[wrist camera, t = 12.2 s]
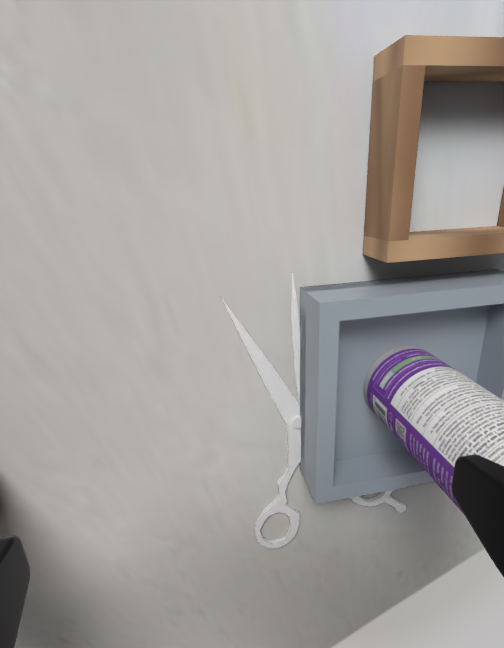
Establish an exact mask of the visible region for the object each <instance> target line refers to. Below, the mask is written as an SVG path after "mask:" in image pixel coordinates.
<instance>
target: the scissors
mask: <svg viewBox="0 0 504 648" xmlns="http://www.w3.org/2000/svg"><path fill="white" fill-rule="evenodd" d="M220 297H221V296H220ZM221 299H222V298H221ZM222 301H223V303H224V305H225V307H226V309H227V311H228V313H229V315H230V317H231V319H232V321H233V323H234V325H235V327H236V329H237V331H238V332H239V334H240V336H241V338H242V340H243V342H244V344H245V346H246V348H247V350H248V352H249V354H250V356H251V358H252V360H253V362H254V364H255V366H256V368H257V370H258V372H259V374H260V376H261V378H262V380H263V382H264V384H265V386H266V388H267V390H268V392H269V393H270V395H271V397H272V399H273V401H274V403H275V405H276V406H277V408H278V410H279V412H280V414H281V416H282V417H283V419H284V421H285V422H286V424H287V444H288V455H287V469H286V471H285V473H284V475H283V476H282V477H281V478H280V479H279V480H278V481H277V484H278V490H279V495H278V497H277V498H276V499H275V500H274V501H273V502H272V503H271V504H270V505H269V506H268V507H267V508H265V509H264V510H263V511H262V512H261V514H260V516H259V517H258V519H257V521H256V523H255V529H254V532H255V535H256V538H257V541H258V542H259V543H260V544H261V545H262V546H264V547H267V548H271V549H275V548H280V547H282V546H284V545H286V544H288V543H289V542H290V540H291V539H292V538H293V537H294V536H295V535H296V532H297V529H298V526H299V517H300V514H299V512H298V511H297V510H295V509H294V508H292V507H291V506H289V505H287V504H286V502H287V499H286V495H285V490H286V488H287V485H288V482H289V480H290V478H291V476H292V474H293V472H294V470H295V469H296V467H297V466H298V464H299V463H300V461H301V430H300V428H301V416H300V325H299V316H298V306H297V296H296V290H295V284H294V278H293V272H292V304H291V324H292V336H293V349H294V371H295V377H296V383H297V391H298V398H299V402H298V401H297V400H296V398H295V397H294V395H293V394H292V393H291V391H290V390H289V388H288V387H287V386H286V384H285V383H284V381H283V380H282V379H281V377H280V376H279V374H278V373H277V372H276V370H275V369H274V368H273V366H272V365H271V363H270V362H269V361H268V359H267V358H266V356H265V355H264V354H263V352H262V351H261V350H260V348H259V347H258V346H257V344H256V343H255V342H254V340H253V339H252V338H251V336H250V335H249V334H248V332H247V331H246V330H245V328H244V327H243V326H242V324H241V323H240V322H239V320H238V319H237V318H236V316H235V315H234V314H233V312H232V311H231V310H230V308H229V307H228V306H227V304H226V303H225V302H224V300H223V299H222ZM392 492H393V490H390V491H384V492H381V493H380V494H379V495H378V496H377V497H374V498H371V499H364V498H362V497H360V496H358V497H352V498H350V499H351V500H352V501H353V502H354V503H357V504H359V505H362V506H367V507H371V506H376V505H378V504H381V503H383V502H385V503H387V504H389V505H391V506H393V507H394V508H395V509H396V510H397V511H398V512H399V513H402V512H404V511H405V510H406V505H405V504H404V503H402V502H399V501H397V500H395V499H394V498H393V497H392V496H390V495H391V493H392ZM277 512H283V513H284V514H286V515H287V516H289V521H290V527H289V529H288V532H287V534H286V535H285V536H284V537H282V538H279V539H277V540H273V541H272V540H267V539H265V538H264V537H262V535H261V532H260V529H261V527H262V525H263V523H264V521H265V520H266V519H267V517H268V516H270V515H273V514H275V513H277Z"/></svg>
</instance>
